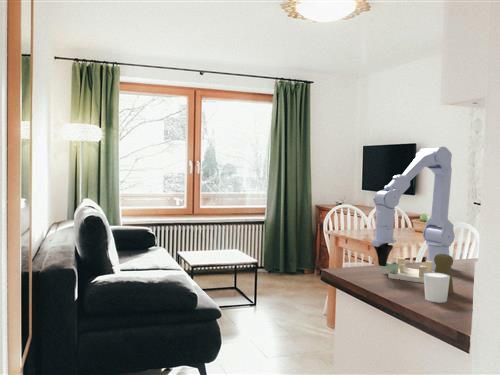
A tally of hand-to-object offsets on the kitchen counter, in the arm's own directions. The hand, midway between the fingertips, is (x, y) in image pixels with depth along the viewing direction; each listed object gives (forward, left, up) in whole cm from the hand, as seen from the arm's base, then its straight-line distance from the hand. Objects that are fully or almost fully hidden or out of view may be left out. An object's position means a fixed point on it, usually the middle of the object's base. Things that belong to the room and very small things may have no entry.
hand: (382, 265), depth 154 cm
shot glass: (+20, +21, -3) cm, 29 cm away
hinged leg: (-1, +2, -1) cm, 3 cm away
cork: (+10, +21, -3) cm, 23 cm away
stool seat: (-3, +9, -3) cm, 10 cm away
